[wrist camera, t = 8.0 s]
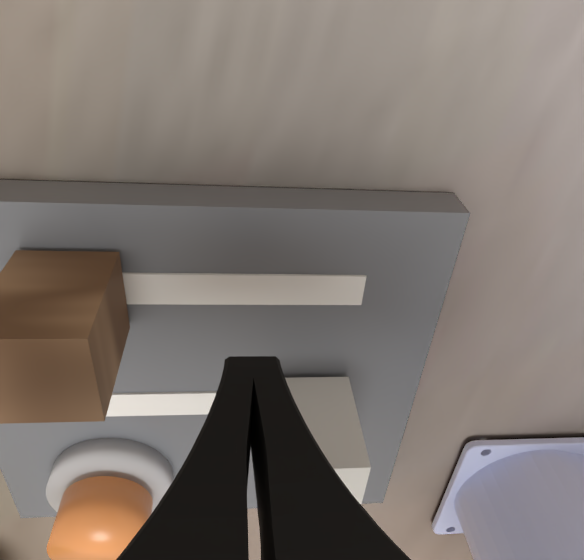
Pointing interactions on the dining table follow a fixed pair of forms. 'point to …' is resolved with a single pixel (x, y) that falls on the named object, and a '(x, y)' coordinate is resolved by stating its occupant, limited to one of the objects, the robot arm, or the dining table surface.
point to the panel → (234, 313)
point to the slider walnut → (60, 335)
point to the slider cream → (334, 426)
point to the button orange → (98, 518)
